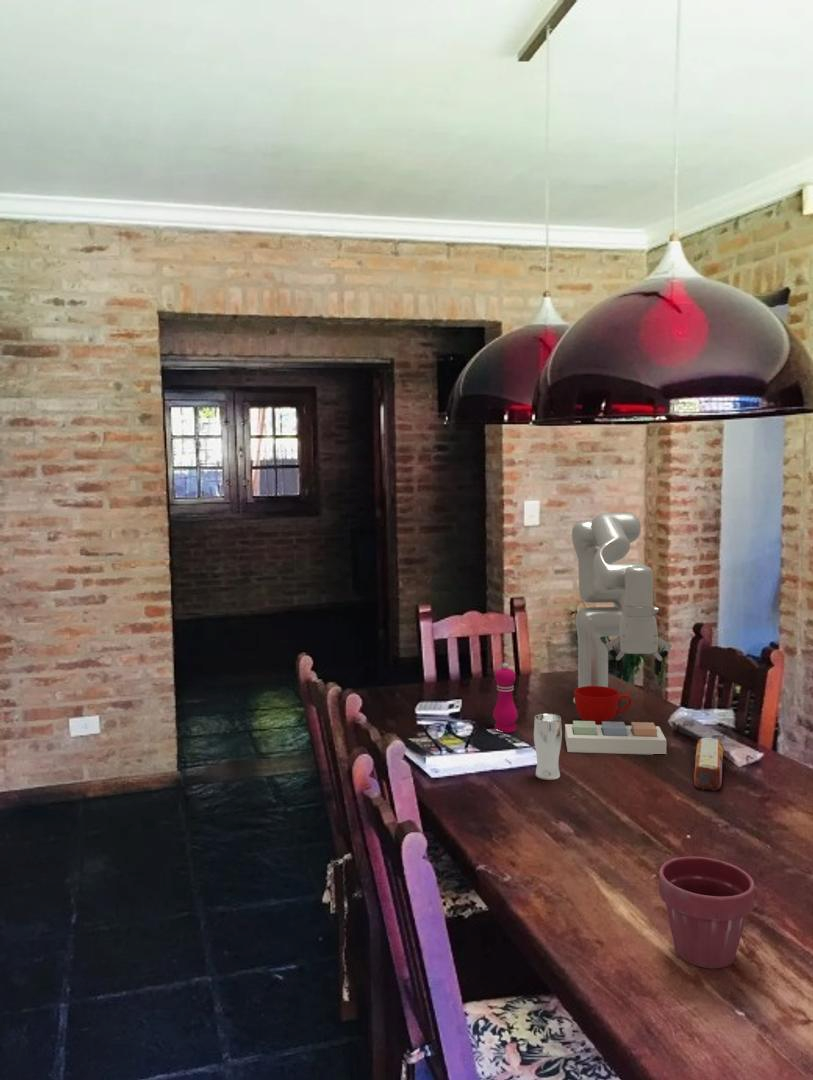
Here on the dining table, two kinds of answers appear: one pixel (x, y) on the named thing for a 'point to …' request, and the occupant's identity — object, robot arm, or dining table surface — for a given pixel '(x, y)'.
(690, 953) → the plant pot
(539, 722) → the beer glass
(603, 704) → the ceramic cup
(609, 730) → the button slate
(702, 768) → the snack package
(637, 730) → the button terracotta
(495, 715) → the pepper mill
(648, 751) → the button panel
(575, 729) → the button sage
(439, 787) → the dining table surface
